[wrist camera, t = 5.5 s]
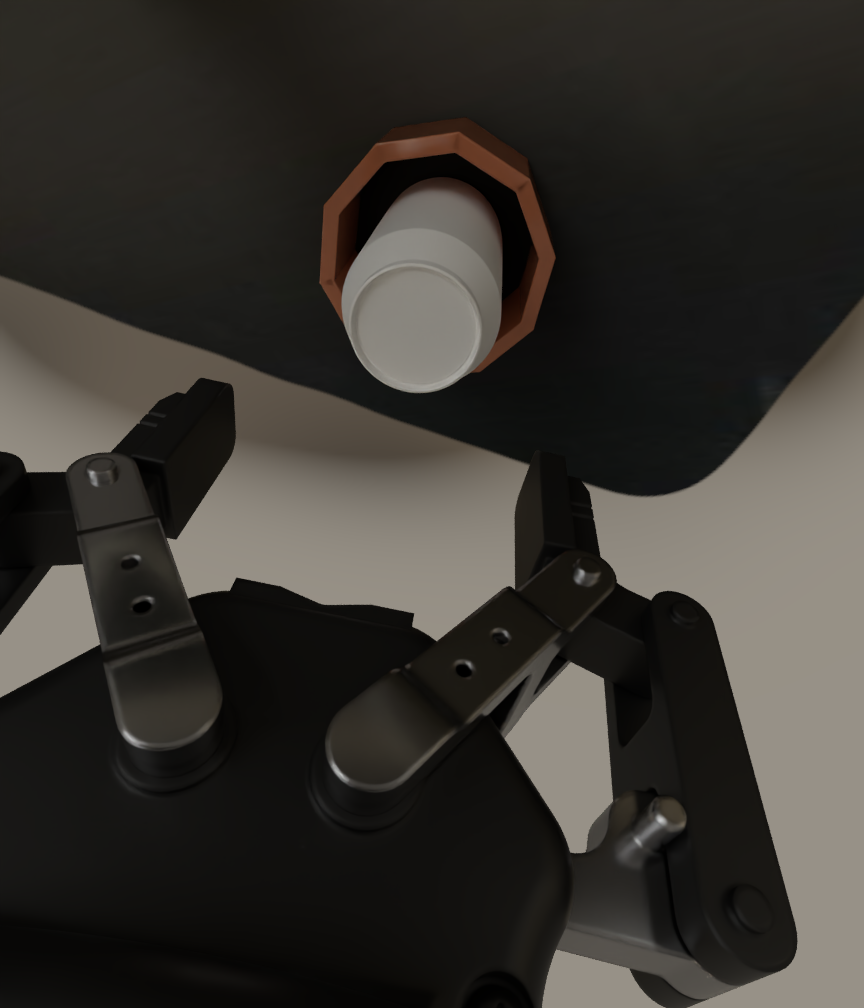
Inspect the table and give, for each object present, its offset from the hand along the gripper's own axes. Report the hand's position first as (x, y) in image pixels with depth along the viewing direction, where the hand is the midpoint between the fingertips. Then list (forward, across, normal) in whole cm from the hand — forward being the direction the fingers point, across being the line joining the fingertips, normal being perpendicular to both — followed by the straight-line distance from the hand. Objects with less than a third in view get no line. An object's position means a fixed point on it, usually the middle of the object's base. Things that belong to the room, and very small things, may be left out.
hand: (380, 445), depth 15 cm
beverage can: (+20, 0, 0) cm, 20 cm away
